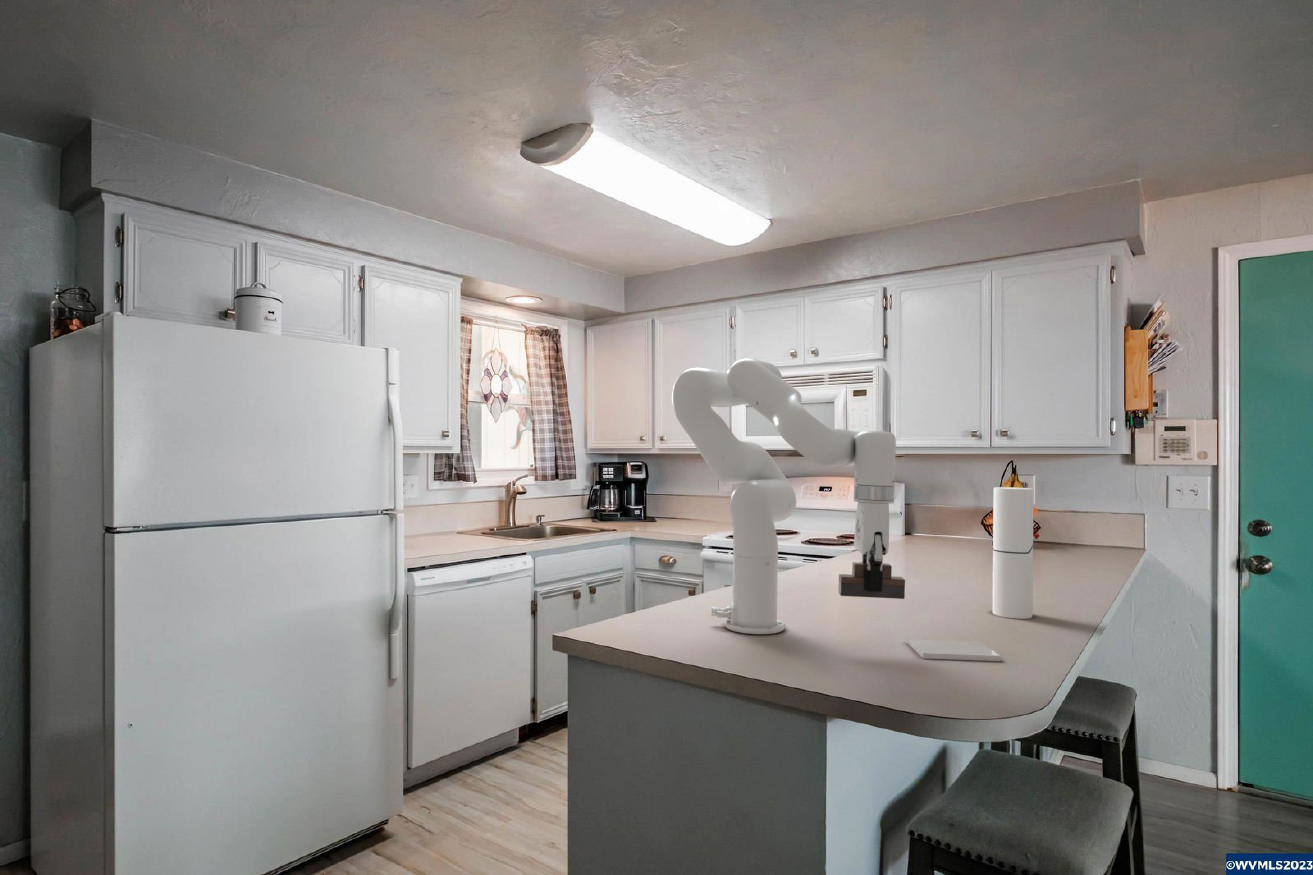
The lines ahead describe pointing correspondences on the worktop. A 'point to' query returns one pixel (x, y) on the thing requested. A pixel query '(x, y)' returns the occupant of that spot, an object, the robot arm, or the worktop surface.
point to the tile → (953, 650)
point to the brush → (856, 583)
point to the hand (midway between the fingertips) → (871, 588)
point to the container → (1013, 552)
